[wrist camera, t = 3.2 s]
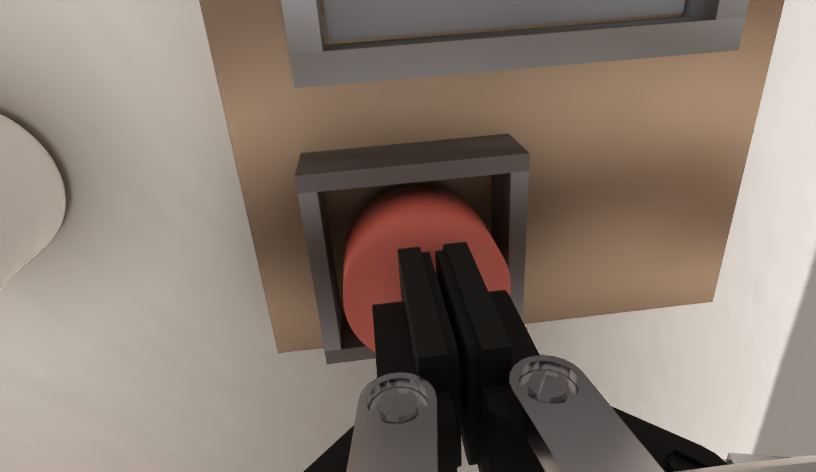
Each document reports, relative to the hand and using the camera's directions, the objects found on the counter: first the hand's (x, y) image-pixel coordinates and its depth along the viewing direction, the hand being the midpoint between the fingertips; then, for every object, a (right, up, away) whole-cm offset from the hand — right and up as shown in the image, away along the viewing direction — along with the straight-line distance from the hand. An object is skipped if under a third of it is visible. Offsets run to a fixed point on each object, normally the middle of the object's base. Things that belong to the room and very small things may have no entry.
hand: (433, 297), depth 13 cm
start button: (0, +1, +3) cm, 3 cm away
